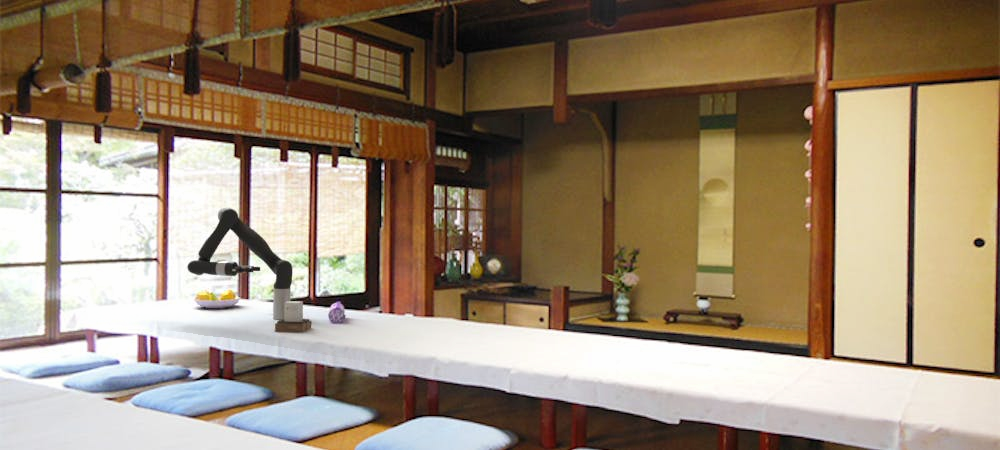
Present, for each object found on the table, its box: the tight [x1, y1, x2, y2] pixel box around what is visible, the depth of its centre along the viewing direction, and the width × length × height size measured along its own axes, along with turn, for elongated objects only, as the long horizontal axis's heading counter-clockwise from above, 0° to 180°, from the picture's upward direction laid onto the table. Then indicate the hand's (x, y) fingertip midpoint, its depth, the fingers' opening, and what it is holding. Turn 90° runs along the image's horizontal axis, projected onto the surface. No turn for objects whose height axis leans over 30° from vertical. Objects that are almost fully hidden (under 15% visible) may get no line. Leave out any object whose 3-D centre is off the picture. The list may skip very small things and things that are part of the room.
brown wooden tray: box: [274, 318, 312, 333], centre depth 366 cm, size 14×14×5 cm
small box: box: [284, 300, 304, 322], centre depth 366 cm, size 8×6×10 cm
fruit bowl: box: [193, 289, 241, 309], centre depth 440 cm, size 28×27×11 cm
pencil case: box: [327, 301, 346, 324], centre depth 400 cm, size 22×9×10 cm, turn 14°
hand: (256, 269), depth 374 cm, fingers open, 8 cm apart
